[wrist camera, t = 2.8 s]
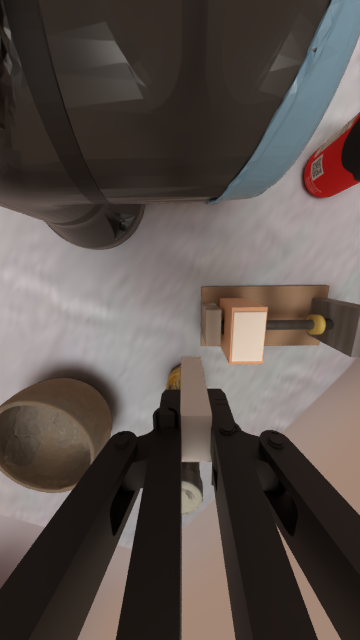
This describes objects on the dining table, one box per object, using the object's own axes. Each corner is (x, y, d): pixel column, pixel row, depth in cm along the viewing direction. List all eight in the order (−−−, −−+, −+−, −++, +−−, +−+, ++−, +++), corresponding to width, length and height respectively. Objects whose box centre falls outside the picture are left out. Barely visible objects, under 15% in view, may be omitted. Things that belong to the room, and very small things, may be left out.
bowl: (22, 425, 40) (-31, 476, 30) (43, 350, 35) (-10, 380, 26) (104, 454, 41) (79, 511, 31) (133, 384, 37) (115, 425, 27)
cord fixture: (200, 344, 35) (207, 372, 25) (201, 286, 32) (209, 293, 23) (316, 343, 34) (367, 371, 25) (325, 285, 32) (386, 291, 22)
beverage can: (300, 204, 29) (379, 160, 17) (299, 154, 28) (383, 71, 16) (345, 195, 29) (455, 144, 17) (345, 144, 27) (466, 51, 16)
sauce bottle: (202, 361, 36) (225, 470, 16) (201, 392, 37) (222, 525, 18) (165, 362, 36) (145, 470, 16) (166, 392, 37) (149, 524, 18)
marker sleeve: (219, 298, 30) (232, 308, 22) (246, 297, 30) (268, 307, 22) (218, 341, 32) (229, 365, 24) (243, 341, 31) (263, 365, 24)
